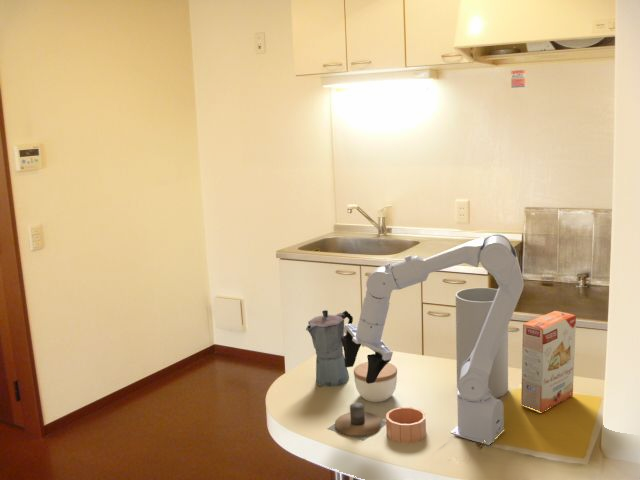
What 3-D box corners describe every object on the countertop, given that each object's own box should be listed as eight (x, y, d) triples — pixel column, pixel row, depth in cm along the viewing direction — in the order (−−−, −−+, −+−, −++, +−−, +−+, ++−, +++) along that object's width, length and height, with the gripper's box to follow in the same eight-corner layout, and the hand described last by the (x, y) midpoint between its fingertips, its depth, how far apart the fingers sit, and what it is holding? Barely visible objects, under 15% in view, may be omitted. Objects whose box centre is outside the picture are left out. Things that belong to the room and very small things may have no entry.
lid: (389, 422, 153) (388, 402, 152) (363, 441, 145) (362, 420, 144) (352, 411, 160) (351, 392, 159) (326, 428, 152) (324, 409, 151)
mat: (388, 424, 153) (388, 422, 153) (363, 442, 146) (363, 440, 146) (353, 413, 160) (353, 411, 159) (327, 430, 152) (327, 428, 152)
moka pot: (299, 384, 178) (295, 312, 174) (341, 367, 188) (337, 299, 184) (324, 394, 171) (319, 320, 167) (365, 376, 181) (362, 305, 177)
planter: (433, 431, 149) (432, 413, 148) (413, 448, 142) (412, 428, 141) (400, 422, 154) (399, 403, 153) (379, 437, 148) (378, 418, 147)
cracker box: (542, 415, 153) (543, 328, 149) (520, 407, 158) (520, 323, 154) (575, 396, 162) (577, 314, 158) (552, 389, 167) (554, 309, 162)
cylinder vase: (476, 375, 177) (475, 284, 172) (517, 389, 168) (518, 293, 163) (446, 390, 169) (445, 295, 164) (488, 405, 160) (488, 305, 155)
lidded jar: (396, 408, 161) (394, 372, 159) (352, 407, 163) (350, 370, 161) (399, 389, 171) (398, 355, 169) (358, 388, 173) (356, 354, 172)
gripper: (338, 307, 151) (326, 361, 155) (380, 335, 141) (367, 392, 144) (361, 305, 156) (349, 357, 159) (404, 332, 145) (390, 387, 149)
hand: (359, 374), depth 152 cm, fingers open, 7 cm apart
